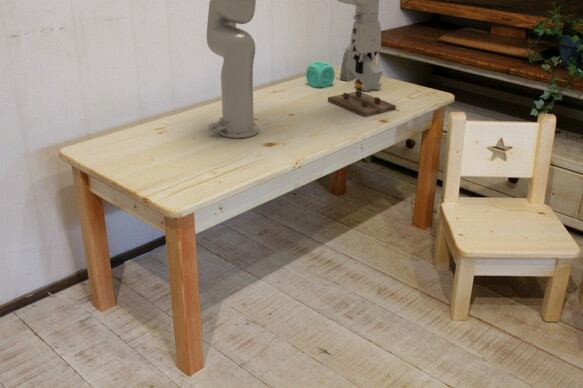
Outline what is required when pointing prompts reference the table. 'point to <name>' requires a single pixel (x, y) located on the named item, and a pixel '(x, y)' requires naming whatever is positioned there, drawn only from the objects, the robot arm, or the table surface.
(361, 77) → the gray rectangular block
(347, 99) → the brown board
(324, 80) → the decorative dice
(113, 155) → the table surface
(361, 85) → the rainbow petal toy
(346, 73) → the decorative stone
